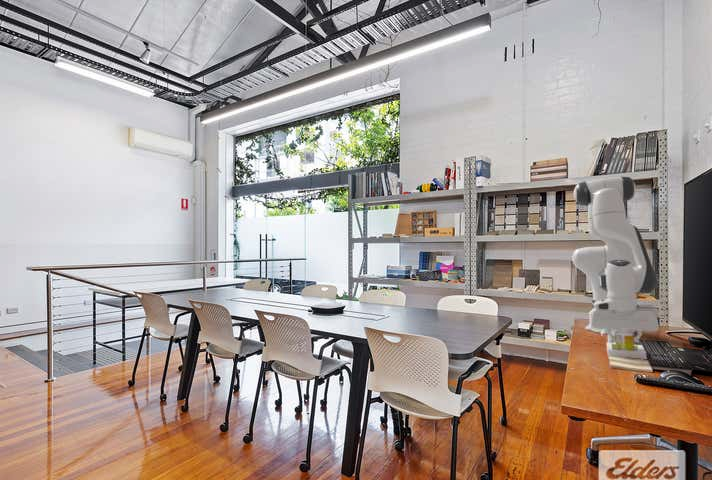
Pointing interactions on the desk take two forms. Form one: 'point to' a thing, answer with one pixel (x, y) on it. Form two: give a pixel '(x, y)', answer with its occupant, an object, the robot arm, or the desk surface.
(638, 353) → the white rectangular frame
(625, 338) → the supplement bottle
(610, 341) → the hat wearing toy figure
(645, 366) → the birch board
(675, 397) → the desk surface
